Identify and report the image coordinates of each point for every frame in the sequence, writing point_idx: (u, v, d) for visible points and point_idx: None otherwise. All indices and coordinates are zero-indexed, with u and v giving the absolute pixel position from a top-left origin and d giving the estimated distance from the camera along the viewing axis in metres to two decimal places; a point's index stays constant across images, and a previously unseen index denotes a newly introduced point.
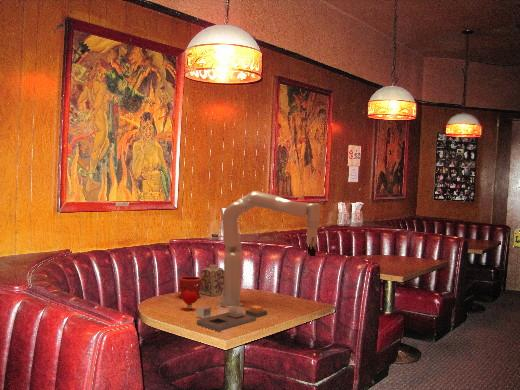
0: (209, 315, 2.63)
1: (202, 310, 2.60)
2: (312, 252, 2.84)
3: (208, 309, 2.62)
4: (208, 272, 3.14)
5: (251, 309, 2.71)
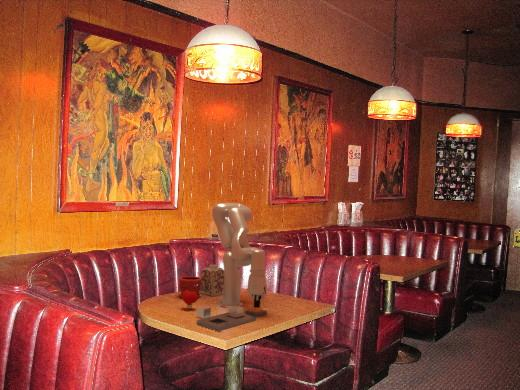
0: (209, 315, 2.63)
1: (202, 310, 2.60)
2: (258, 303, 2.70)
3: (208, 309, 2.62)
4: (208, 272, 3.14)
5: (251, 309, 2.71)
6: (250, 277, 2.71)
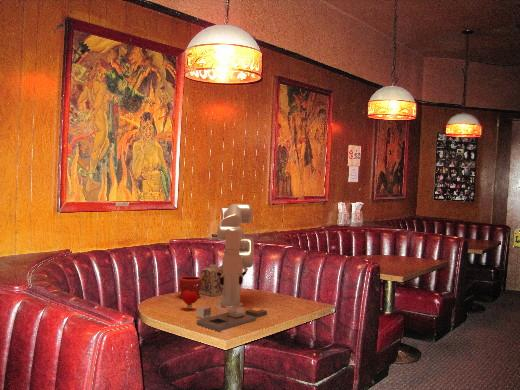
0: (209, 315, 2.63)
1: (202, 310, 2.60)
2: None
3: (208, 309, 2.62)
4: (208, 272, 3.14)
5: None
6: (227, 257, 2.63)
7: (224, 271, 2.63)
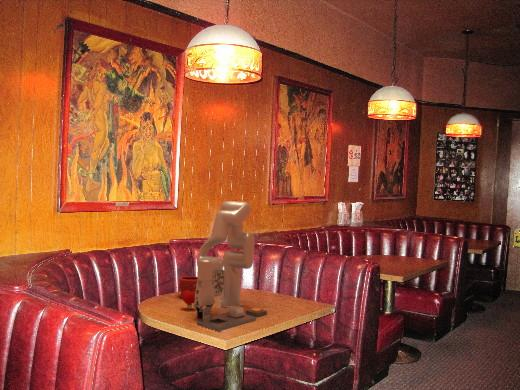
0: (209, 315, 2.63)
1: (202, 310, 2.60)
2: None
3: (208, 309, 2.62)
4: None
5: None
6: (204, 289, 2.59)
7: (201, 304, 2.58)
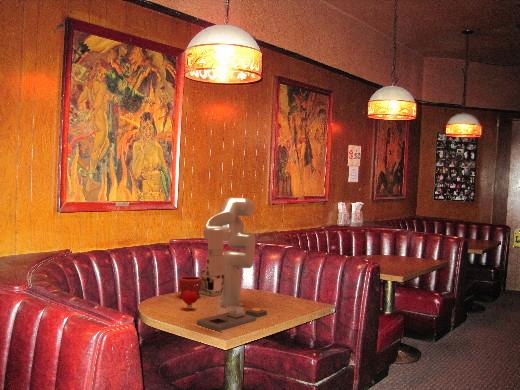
0: (220, 286, 2.54)
1: (212, 280, 2.51)
2: None
3: (219, 280, 2.53)
4: None
5: None
6: (214, 259, 2.50)
7: (211, 273, 2.49)
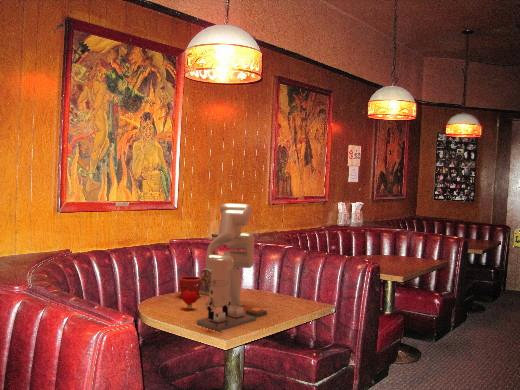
0: (224, 320, 2.52)
1: (216, 315, 2.49)
2: None
3: (223, 314, 2.51)
4: (208, 272, 3.14)
5: None
6: (218, 289, 2.47)
7: (215, 304, 2.46)
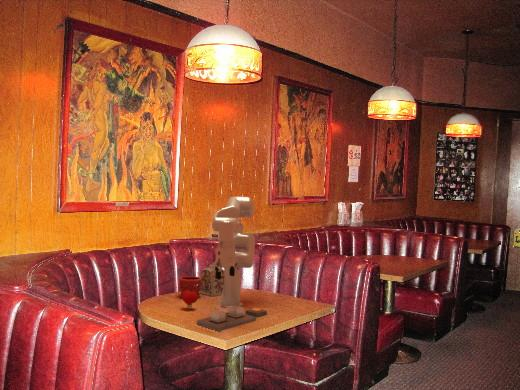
0: (224, 320, 2.52)
1: (216, 315, 2.49)
2: None
3: (223, 314, 2.51)
4: (208, 272, 3.14)
5: None
6: (225, 250, 2.54)
7: (223, 265, 2.54)
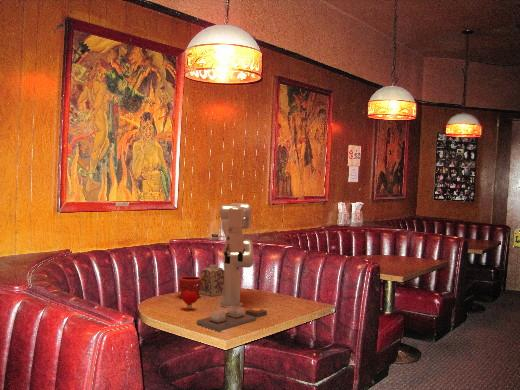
0: (224, 320, 2.52)
1: (216, 315, 2.49)
2: None
3: (223, 314, 2.51)
4: (208, 272, 3.14)
5: None
6: (234, 236, 2.67)
7: (232, 249, 2.66)
